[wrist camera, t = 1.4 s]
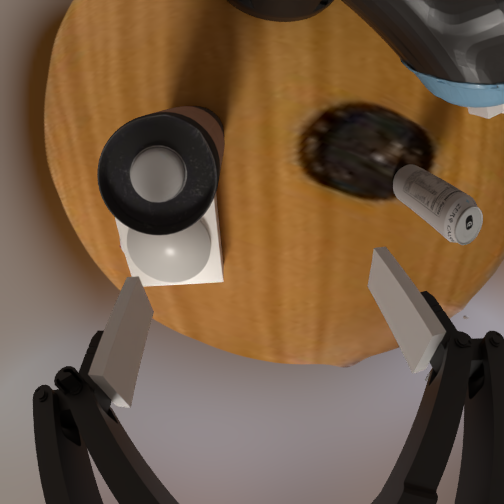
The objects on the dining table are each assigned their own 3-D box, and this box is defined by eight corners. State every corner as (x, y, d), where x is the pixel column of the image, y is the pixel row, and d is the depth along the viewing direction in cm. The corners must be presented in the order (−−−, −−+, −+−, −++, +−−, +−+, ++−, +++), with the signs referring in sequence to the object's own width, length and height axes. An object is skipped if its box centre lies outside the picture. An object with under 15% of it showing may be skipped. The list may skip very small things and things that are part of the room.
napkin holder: (455, 116, 32) (478, 123, 27) (463, 57, 26) (487, 59, 21) (500, 145, 34) (520, 154, 29) (508, 95, 28) (529, 100, 23)
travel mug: (175, 170, 34) (123, 250, 17) (157, 115, 30) (78, 142, 13) (232, 153, 34) (235, 220, 17) (217, 96, 30) (198, 93, 13)
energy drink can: (395, 206, 39) (453, 258, 26) (385, 172, 36) (449, 216, 23) (424, 190, 38) (486, 235, 25) (415, 156, 35) (484, 193, 22)
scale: (117, 192, 35) (104, 206, 31) (215, 181, 35) (213, 193, 31) (137, 271, 42) (129, 290, 38) (223, 265, 42) (223, 285, 38)
